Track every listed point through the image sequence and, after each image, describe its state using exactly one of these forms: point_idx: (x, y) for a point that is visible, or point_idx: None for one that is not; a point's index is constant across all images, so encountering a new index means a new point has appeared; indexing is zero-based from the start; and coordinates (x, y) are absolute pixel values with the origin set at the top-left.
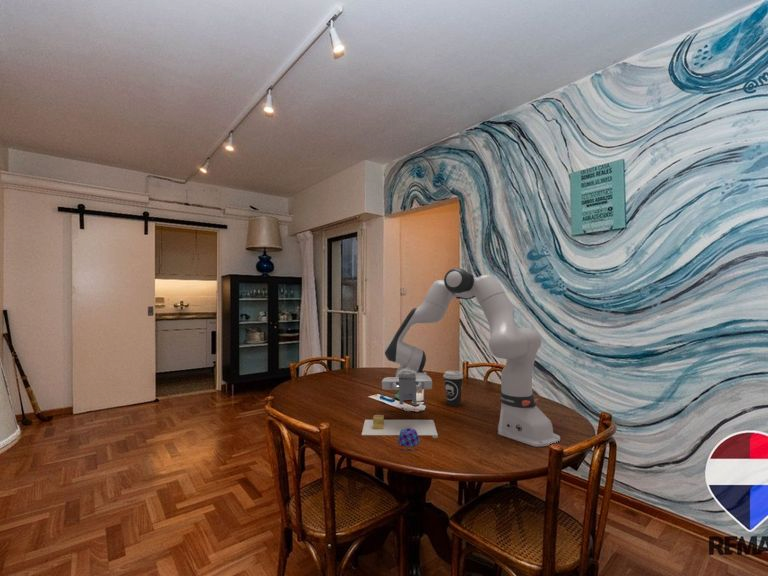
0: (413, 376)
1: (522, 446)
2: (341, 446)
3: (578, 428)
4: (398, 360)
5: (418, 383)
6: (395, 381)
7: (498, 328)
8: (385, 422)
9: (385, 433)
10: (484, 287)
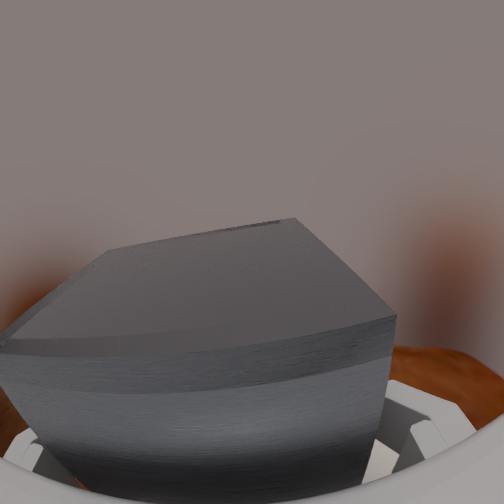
0: (100, 267)
1: (8, 400)
2: (456, 354)
3: None
4: None
5: (44, 448)
6: (449, 450)
7: None
8: None
9: (372, 452)
10: None
